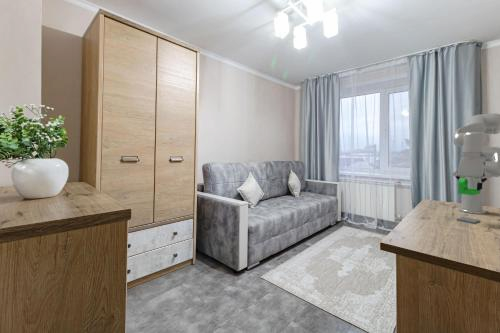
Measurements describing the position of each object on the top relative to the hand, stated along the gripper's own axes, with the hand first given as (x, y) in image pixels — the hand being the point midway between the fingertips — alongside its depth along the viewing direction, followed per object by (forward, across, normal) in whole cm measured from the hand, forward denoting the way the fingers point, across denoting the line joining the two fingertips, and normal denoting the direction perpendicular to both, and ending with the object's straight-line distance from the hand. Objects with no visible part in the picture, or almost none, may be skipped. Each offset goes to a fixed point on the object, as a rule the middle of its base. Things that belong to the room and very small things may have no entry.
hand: (470, 188), depth 122 cm
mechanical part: (+2, 0, 0) cm, 2 cm away
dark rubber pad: (+17, 0, 0) cm, 17 cm away
